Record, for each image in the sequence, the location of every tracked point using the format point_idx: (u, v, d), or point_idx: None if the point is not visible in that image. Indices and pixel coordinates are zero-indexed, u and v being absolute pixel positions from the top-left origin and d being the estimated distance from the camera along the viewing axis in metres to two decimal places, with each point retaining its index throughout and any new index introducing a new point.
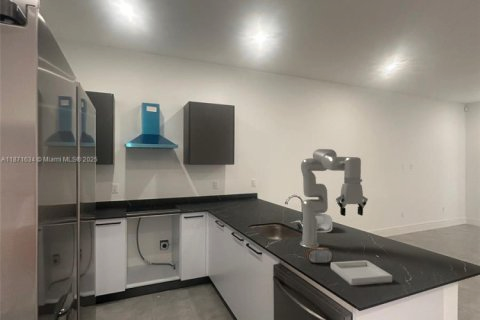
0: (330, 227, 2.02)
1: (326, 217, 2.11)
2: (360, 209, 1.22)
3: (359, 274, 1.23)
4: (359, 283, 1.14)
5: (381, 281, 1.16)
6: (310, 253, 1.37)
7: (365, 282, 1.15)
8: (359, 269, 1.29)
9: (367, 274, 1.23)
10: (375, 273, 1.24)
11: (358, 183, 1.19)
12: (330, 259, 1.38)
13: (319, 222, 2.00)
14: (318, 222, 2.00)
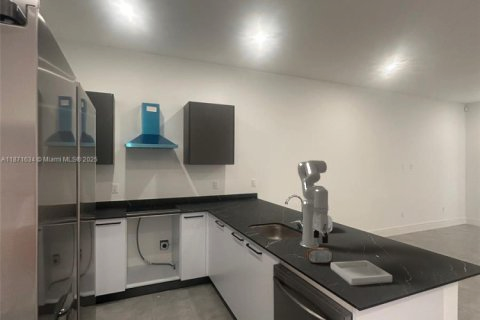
0: (330, 227, 2.02)
1: None
2: (317, 233, 1.43)
3: (359, 274, 1.23)
4: (359, 283, 1.14)
5: (381, 281, 1.16)
6: (310, 253, 1.37)
7: (365, 282, 1.15)
8: (359, 269, 1.29)
9: (367, 274, 1.23)
10: (375, 273, 1.24)
11: None
12: (330, 259, 1.38)
13: None
14: None
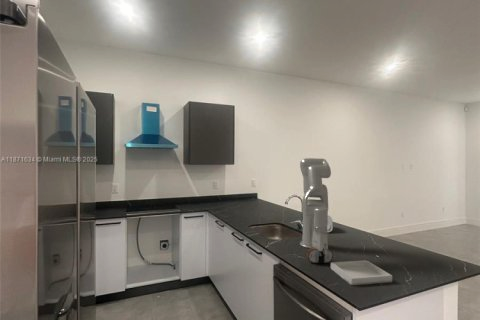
0: (330, 227, 2.01)
1: None
2: None
3: (359, 274, 1.23)
4: (359, 283, 1.14)
5: (381, 281, 1.16)
6: (310, 253, 1.37)
7: (365, 282, 1.15)
8: (359, 269, 1.29)
9: (367, 274, 1.23)
10: (375, 273, 1.24)
11: None
12: (330, 259, 1.38)
13: None
14: None
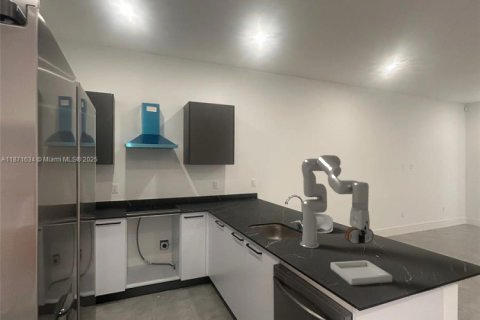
0: (330, 227, 2.01)
1: (326, 217, 2.10)
2: None
3: (359, 274, 1.23)
4: (359, 283, 1.14)
5: (381, 281, 1.16)
6: (350, 233, 1.22)
7: (365, 282, 1.15)
8: (359, 269, 1.29)
9: (367, 274, 1.23)
10: (375, 273, 1.24)
11: None
12: (370, 239, 1.24)
13: (320, 222, 1.99)
14: (319, 223, 1.99)
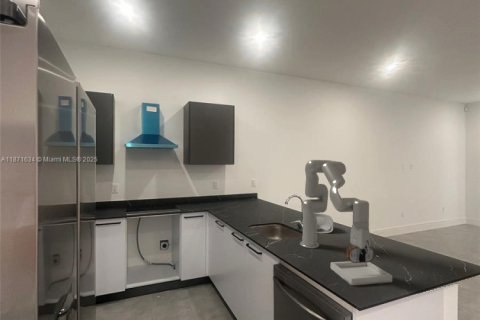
0: (330, 227, 2.01)
1: (326, 217, 2.10)
2: None
3: (359, 274, 1.23)
4: (359, 283, 1.14)
5: (381, 281, 1.16)
6: (351, 252, 1.22)
7: (365, 282, 1.15)
8: (359, 269, 1.29)
9: (367, 274, 1.23)
10: (375, 273, 1.24)
11: None
12: (371, 258, 1.24)
13: (320, 223, 1.98)
14: (319, 223, 1.98)
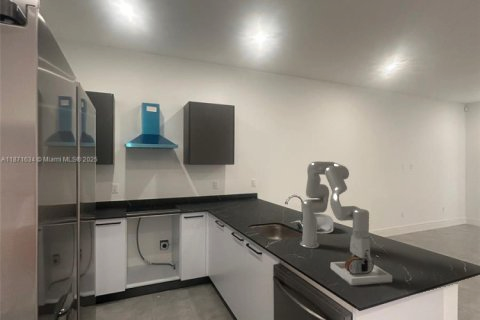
0: (331, 228, 2.00)
1: (326, 217, 2.09)
2: None
3: (359, 274, 1.23)
4: (359, 283, 1.14)
5: (381, 281, 1.16)
6: (350, 264, 1.22)
7: (365, 282, 1.15)
8: None
9: (367, 274, 1.23)
10: (375, 273, 1.24)
11: None
12: (371, 269, 1.24)
13: (320, 223, 1.98)
14: (319, 223, 1.98)
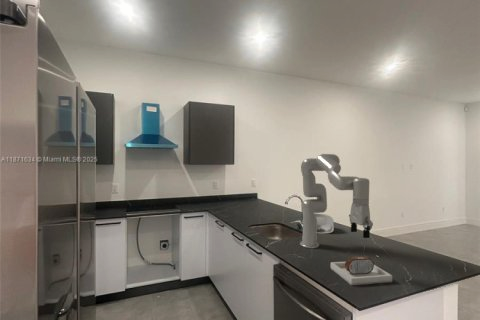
0: (331, 228, 2.00)
1: (326, 218, 2.09)
2: (355, 226, 1.30)
3: (359, 274, 1.23)
4: (359, 283, 1.14)
5: (381, 281, 1.16)
6: (350, 264, 1.22)
7: (365, 282, 1.15)
8: None
9: (367, 274, 1.23)
10: (375, 273, 1.24)
11: None
12: (371, 269, 1.24)
13: (320, 223, 1.97)
14: (319, 223, 1.97)
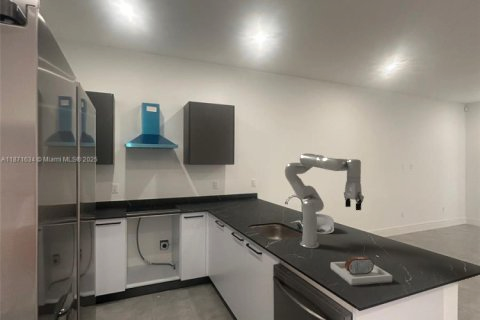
0: (331, 228, 2.00)
1: (326, 218, 2.09)
2: (349, 202, 1.49)
3: (359, 274, 1.23)
4: (359, 283, 1.14)
5: (381, 281, 1.16)
6: (350, 264, 1.22)
7: (365, 282, 1.15)
8: None
9: (367, 274, 1.23)
10: (375, 273, 1.24)
11: None
12: (371, 269, 1.24)
13: (320, 223, 1.97)
14: (319, 223, 1.97)
